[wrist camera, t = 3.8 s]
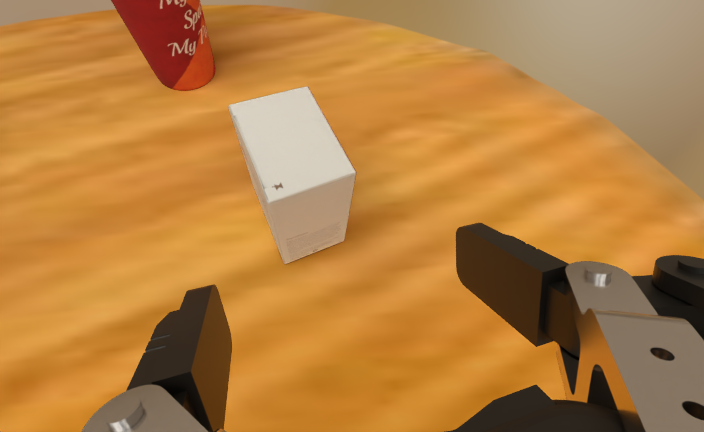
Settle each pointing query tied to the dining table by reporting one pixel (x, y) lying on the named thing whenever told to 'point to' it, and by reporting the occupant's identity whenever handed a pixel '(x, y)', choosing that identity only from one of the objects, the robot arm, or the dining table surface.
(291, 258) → the small box
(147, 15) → the coffee cup
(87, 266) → the dining table surface
